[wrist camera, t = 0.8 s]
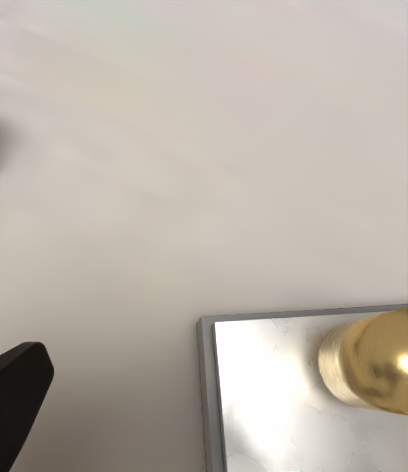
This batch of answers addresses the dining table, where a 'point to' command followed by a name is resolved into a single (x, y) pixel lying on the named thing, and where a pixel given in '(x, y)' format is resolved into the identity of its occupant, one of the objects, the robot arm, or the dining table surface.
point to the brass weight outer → (368, 362)
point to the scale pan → (295, 403)
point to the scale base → (210, 377)
